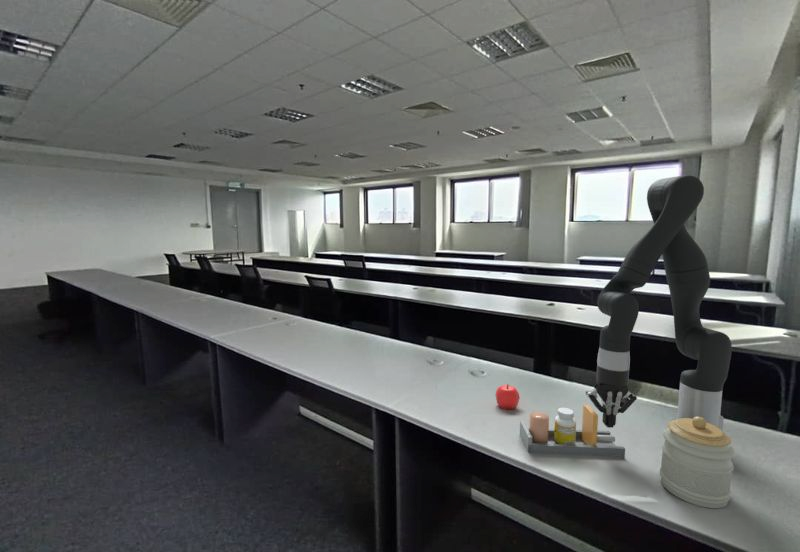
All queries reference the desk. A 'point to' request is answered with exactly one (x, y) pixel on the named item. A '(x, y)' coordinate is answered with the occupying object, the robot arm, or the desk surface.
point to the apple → (507, 397)
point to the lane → (578, 448)
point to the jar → (697, 462)
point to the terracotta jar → (539, 427)
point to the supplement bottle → (565, 427)
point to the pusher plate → (592, 428)
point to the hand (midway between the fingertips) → (608, 426)
